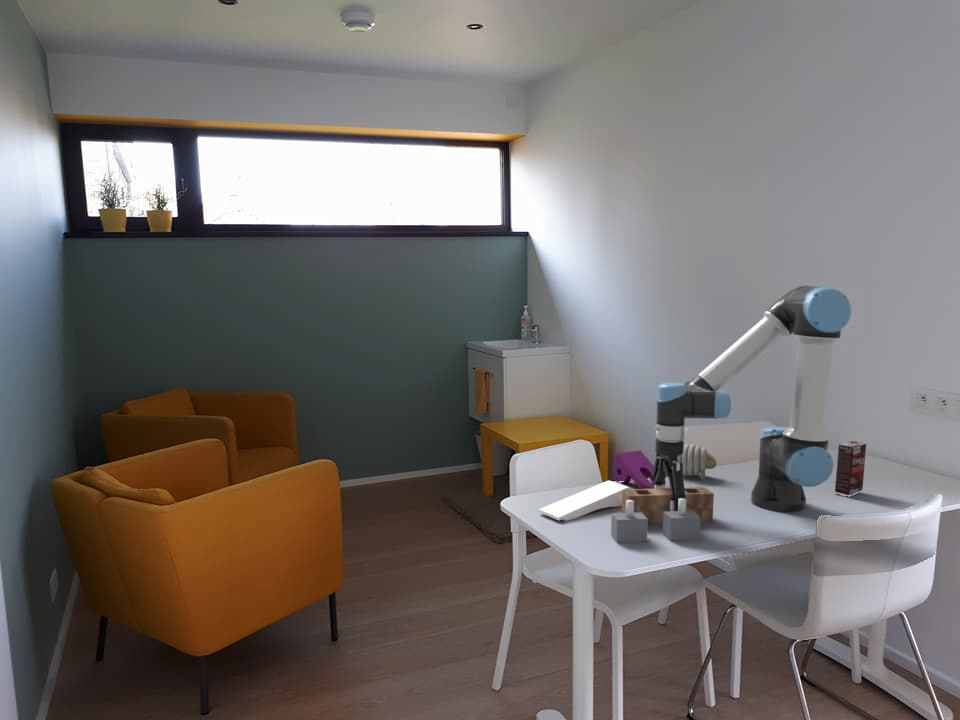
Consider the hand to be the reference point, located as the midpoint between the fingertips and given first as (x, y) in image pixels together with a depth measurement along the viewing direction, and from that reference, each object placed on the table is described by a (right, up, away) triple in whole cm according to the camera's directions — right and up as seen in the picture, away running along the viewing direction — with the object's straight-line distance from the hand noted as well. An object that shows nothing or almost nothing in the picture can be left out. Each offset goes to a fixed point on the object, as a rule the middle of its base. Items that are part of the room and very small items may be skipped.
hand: (666, 514), depth 201 cm
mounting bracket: (0, +2, +32) cm, 32 cm away
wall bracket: (-22, -1, +9) cm, 23 cm away
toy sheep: (+19, +4, +42) cm, 46 cm away
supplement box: (+63, +1, +24) cm, 67 cm away
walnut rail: (0, -1, 0) cm, 1 cm away
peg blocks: (-7, -3, -13) cm, 15 cm away
